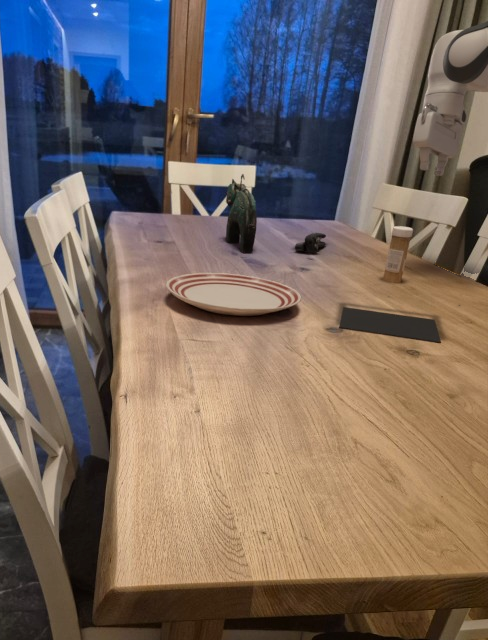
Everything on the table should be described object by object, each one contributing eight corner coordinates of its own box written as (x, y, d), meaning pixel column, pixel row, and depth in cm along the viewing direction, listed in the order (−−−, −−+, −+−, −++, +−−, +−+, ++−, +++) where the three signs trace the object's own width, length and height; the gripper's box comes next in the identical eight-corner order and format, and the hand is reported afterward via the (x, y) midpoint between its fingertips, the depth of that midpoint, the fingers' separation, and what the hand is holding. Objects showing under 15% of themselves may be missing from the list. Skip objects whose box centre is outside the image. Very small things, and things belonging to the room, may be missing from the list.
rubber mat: (434, 320, 115) (434, 319, 115) (440, 343, 103) (441, 342, 103) (343, 307, 119) (343, 306, 119) (339, 328, 107) (339, 327, 107)
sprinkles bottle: (404, 285, 140) (417, 228, 134) (392, 287, 138) (405, 229, 132) (389, 280, 143) (401, 225, 137) (377, 282, 141) (389, 226, 135)
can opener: (313, 256, 164) (317, 236, 162) (291, 252, 167) (293, 232, 165) (334, 247, 178) (337, 229, 175) (312, 244, 181) (315, 225, 178)
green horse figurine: (220, 239, 179) (226, 170, 170) (240, 240, 180) (247, 171, 171) (238, 253, 161) (245, 177, 152) (260, 254, 162) (268, 179, 154)
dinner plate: (227, 278, 135) (228, 264, 134) (325, 308, 118) (328, 293, 117) (137, 297, 117) (137, 281, 116) (238, 335, 100) (240, 317, 99)
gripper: (439, 99, 127) (428, 166, 131) (469, 118, 142) (458, 177, 145) (411, 102, 131) (401, 167, 135) (443, 120, 146) (433, 178, 150)
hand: (431, 172), depth 140 cm, fingers open, 8 cm apart
